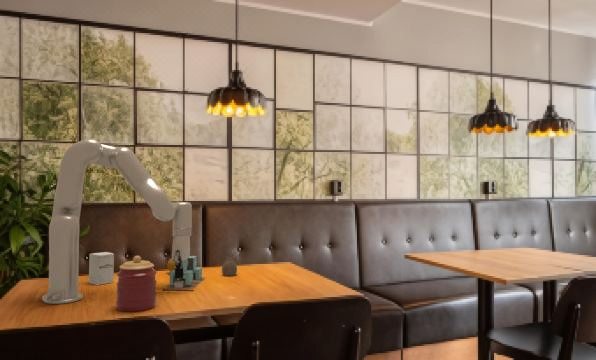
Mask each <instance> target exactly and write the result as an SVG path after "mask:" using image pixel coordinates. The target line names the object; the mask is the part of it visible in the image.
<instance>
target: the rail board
mask: <svg viewBox="0 0 596 360" xmlns="http://www.w3.org/2000/svg"><path fill="white" fill-rule="evenodd" d="M205 279H207V276H205V277H204V276H202V278H201V279H200V280H196V273H193V282H191V283H190V284H186V277H184V276H183V278H182V279H178V278H177V281H175V283H174V284H170V283H169V284H167V285H166V286H164V287H163V288H162V291H163V292H192V293H193V292H194V291H195V288H196V287H198V285H200V284H201V283H202V282H203V281H204V280H205Z"/></svg>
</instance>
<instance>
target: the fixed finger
mask: <svg viewBox="0 0 596 360" xmlns="http://www.w3.org/2000/svg"><path fill="white" fill-rule="evenodd" d="M197 258H198V257H197V255H190V257H189V258H188V270H193V273H196V280H200V279H201V278H202V277H203V267H199V266H197V265H198V262H197Z"/></svg>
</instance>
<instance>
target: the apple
mask: <svg viewBox="0 0 596 360" xmlns="http://www.w3.org/2000/svg"><path fill="white" fill-rule="evenodd" d="M166 265H167V269H168V270H169V273H170V272H171V271H173V270H175V262H174V261H172V257H171V258H169V259H168V262H167V264H166Z"/></svg>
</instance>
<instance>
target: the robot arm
mask: <svg viewBox="0 0 596 360" xmlns="http://www.w3.org/2000/svg"><path fill="white" fill-rule="evenodd" d="M89 164H93V165H96V166H97V165H98V166H101V167H107V168H111V169H117V171H118V172H119V173H120V175H121V176H122V177H123V178H124V179H125V182H126V183H127V184H128V185H129V186H130V188H131V189H132V190H133V191H134V192H135V193H136V194H137V195H139V196H140V197H141V198H142V199H143V201H145V202H146V204H147V205H148V206H149V207H150V209H151V213H152V215H153V217H154V218H155V219H157V220H159V221H162V222H170V221H172V237H173V239H172V244H171V245H172V247H171V258H172V261H174V262H175V278H177V279H182V278H183V268H182V267H183V261H184V260H186V259H187V270H188V258H189V257H190V256H191V239H190V238H191V236H192V228H193V225H192V224H193V223H192V221H193V220H192V219H193V217H192V216H193V210H192V209H193V205H192V203H191V202H189V201H177V202H172V200H171V199H170V198H169V196H168V195H167V194H166V193H165V191H164V189H162V188H161V186H159V184H158V183H157V182H156V180H155V179H154V178H153V177H152V175H151V174H150V173H149V171H148V170H147V169H146V168H145V166H144V165H143V164H142V162H141V161H140V160H139V158H138V157H137V156H136V154H135V153H134V151H133V150H132V149H130V148H129V147H126V146H120V147H115V146H112V145H106V144H104V143H101V142H100V141H99V140H97V139H94V138H86V139H83V140H80V141H78V142H75V143H73V144H72V145H70V146H69V147H68V148H67V150H66V151H65V153H64V154H63V156H62V158H61V161H60V165H59V169H58V170H59V171H58V177H57V182H56V189H55V191H54V195H53V197H54V200H53V205H52V206H53V207H52V213H51V220H50V222H49V228H48V244H49V245H48V246H49V247H48V248H49V249H48V261H49V262H48V290H47V294H44V295H42V296H41V300H42V301H43V302H44V303H45V304H51V305H57V304H58V305H60V304H69V303H73V302H77V301H80V300H82V299H83V297H84V295H83V294H82V293H81V292H79V269H80V268H79V266H80V265H79V263H80V262H79V259H80V256H79V254H80V251H79V250H80V247H79V245H80V220H81V219H80V217H81V209H82V204H83V203H82V202H83V199H84V195H83V194H84V193H83V188H84V180H85V176H86V169H87V167H88V165H89ZM179 259H181V260H179ZM179 262H181V265H180V263H179Z"/></svg>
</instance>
